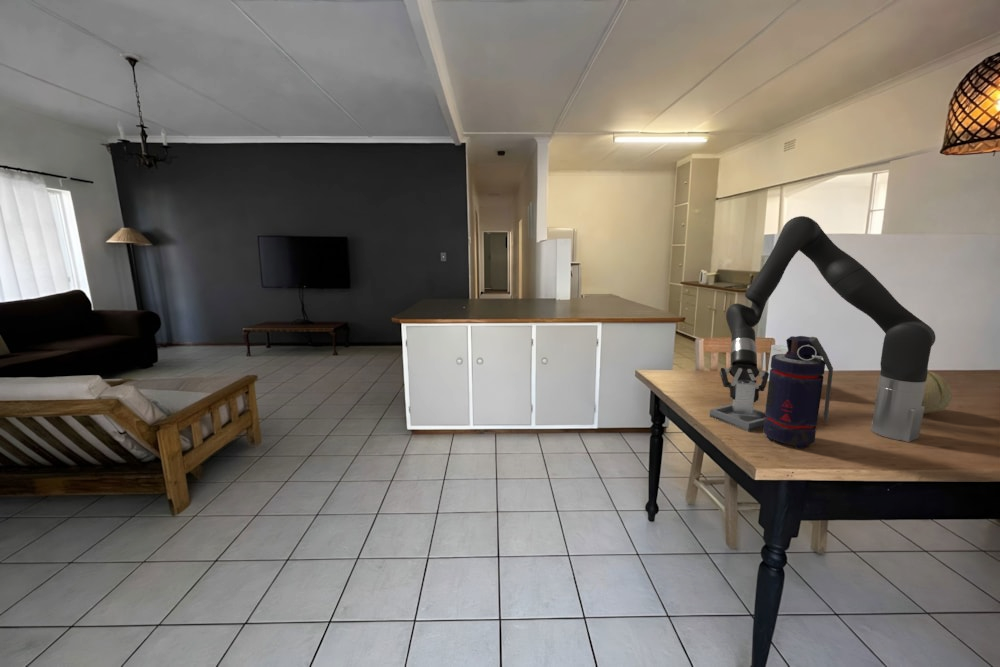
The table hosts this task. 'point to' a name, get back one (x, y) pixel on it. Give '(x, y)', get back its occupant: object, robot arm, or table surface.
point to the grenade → (796, 392)
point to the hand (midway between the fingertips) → (744, 399)
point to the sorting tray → (739, 417)
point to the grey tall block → (744, 397)
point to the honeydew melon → (936, 393)
